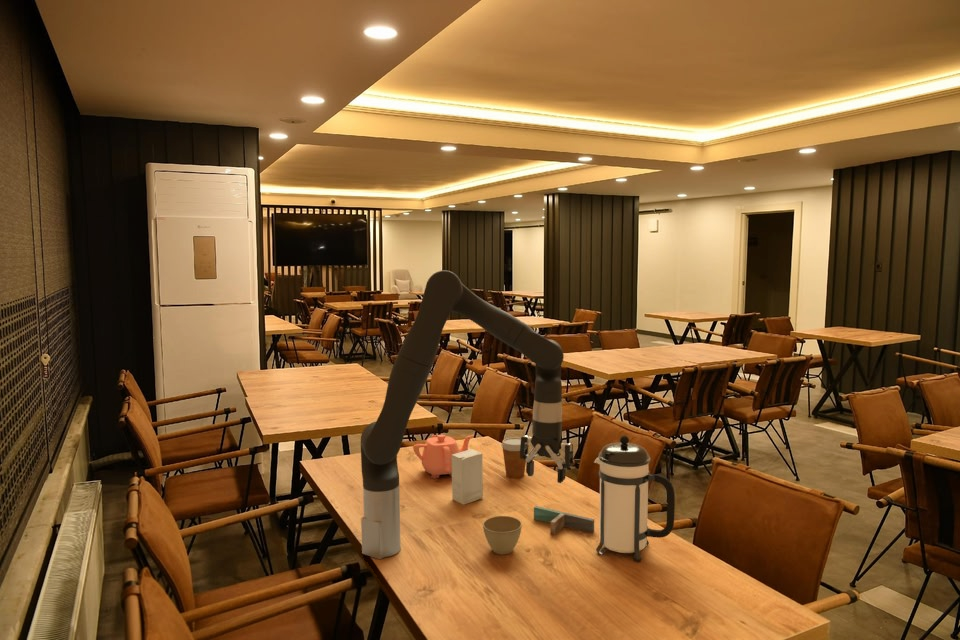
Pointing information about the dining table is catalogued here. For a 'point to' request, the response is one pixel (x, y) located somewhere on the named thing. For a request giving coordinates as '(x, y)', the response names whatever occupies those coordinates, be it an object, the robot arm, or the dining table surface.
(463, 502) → the skincare box
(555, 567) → the dining table surface
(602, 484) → the coffee press
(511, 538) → the flower pot
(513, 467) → the disposable coffee cup
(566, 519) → the t-shaped slab assembly
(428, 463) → the teapot
